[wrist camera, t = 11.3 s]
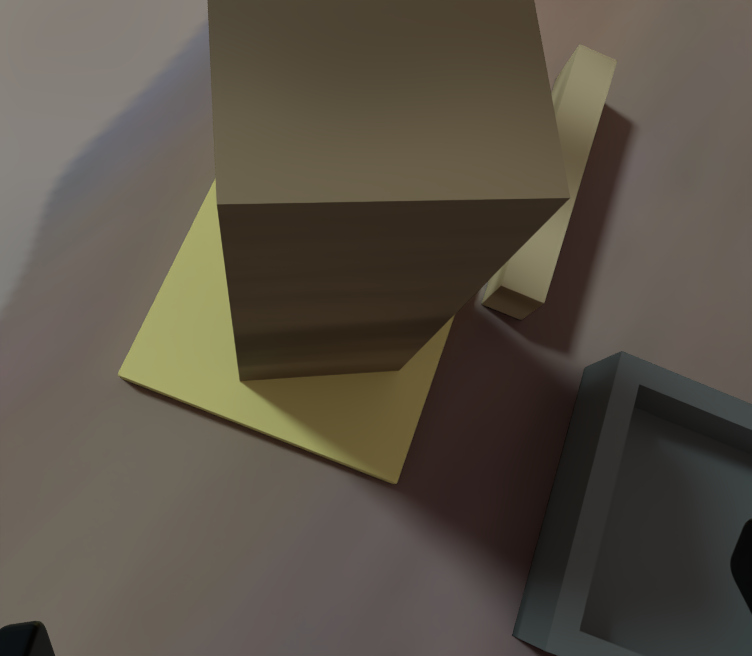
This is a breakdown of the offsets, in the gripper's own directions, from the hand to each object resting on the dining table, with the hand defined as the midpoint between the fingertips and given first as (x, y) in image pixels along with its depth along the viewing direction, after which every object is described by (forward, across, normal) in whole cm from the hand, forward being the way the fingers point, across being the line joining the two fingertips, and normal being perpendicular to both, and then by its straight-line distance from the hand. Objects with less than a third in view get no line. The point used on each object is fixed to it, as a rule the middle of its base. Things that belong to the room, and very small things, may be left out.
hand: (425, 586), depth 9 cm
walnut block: (+14, 0, +3) cm, 14 cm away
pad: (+14, 0, +4) cm, 15 cm away
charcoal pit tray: (+8, -11, +10) cm, 17 cm away
